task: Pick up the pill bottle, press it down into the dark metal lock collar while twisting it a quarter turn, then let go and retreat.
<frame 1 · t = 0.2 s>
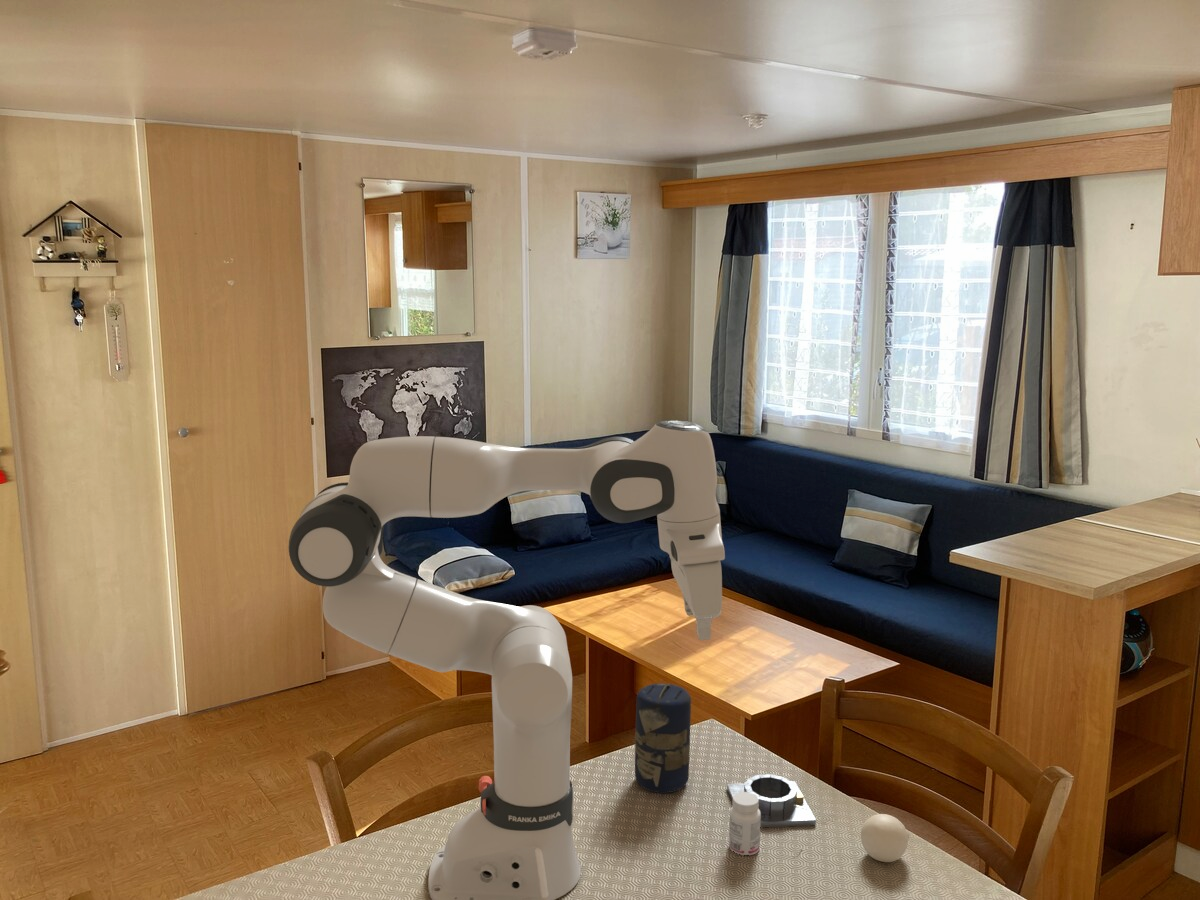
hand: (697, 625, 139), 38 cm above the table, tool pointing down, fingers open, 8 cm apart
lock socket: (769, 806, 162), on the table
pill bottle: (743, 848, 151), on the table
canister: (661, 783, 169), on the table
beige sphere: (883, 858, 149), on the table
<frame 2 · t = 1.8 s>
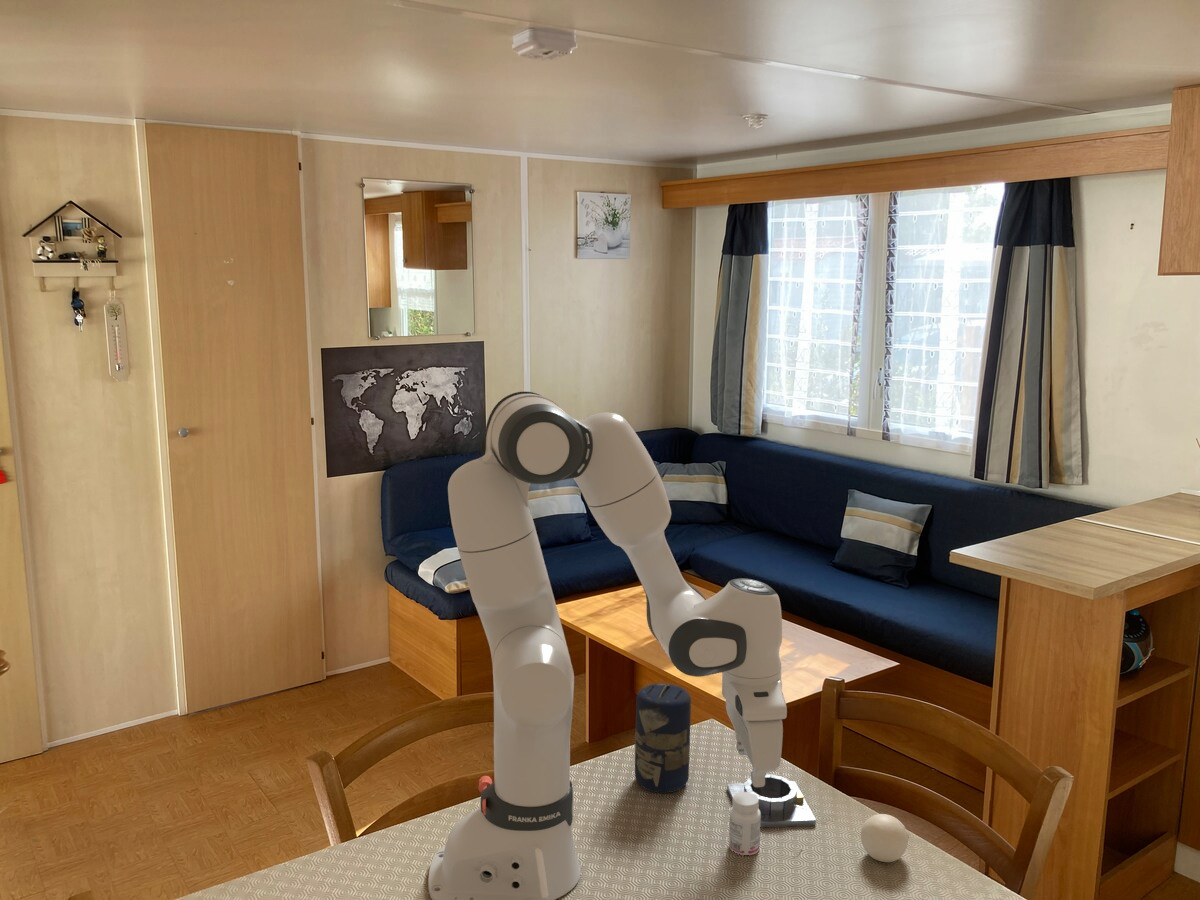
hand: (750, 768, 148), 13 cm above the table, tool pointing down, fingers open, 8 cm apart
nothing on the table moved.
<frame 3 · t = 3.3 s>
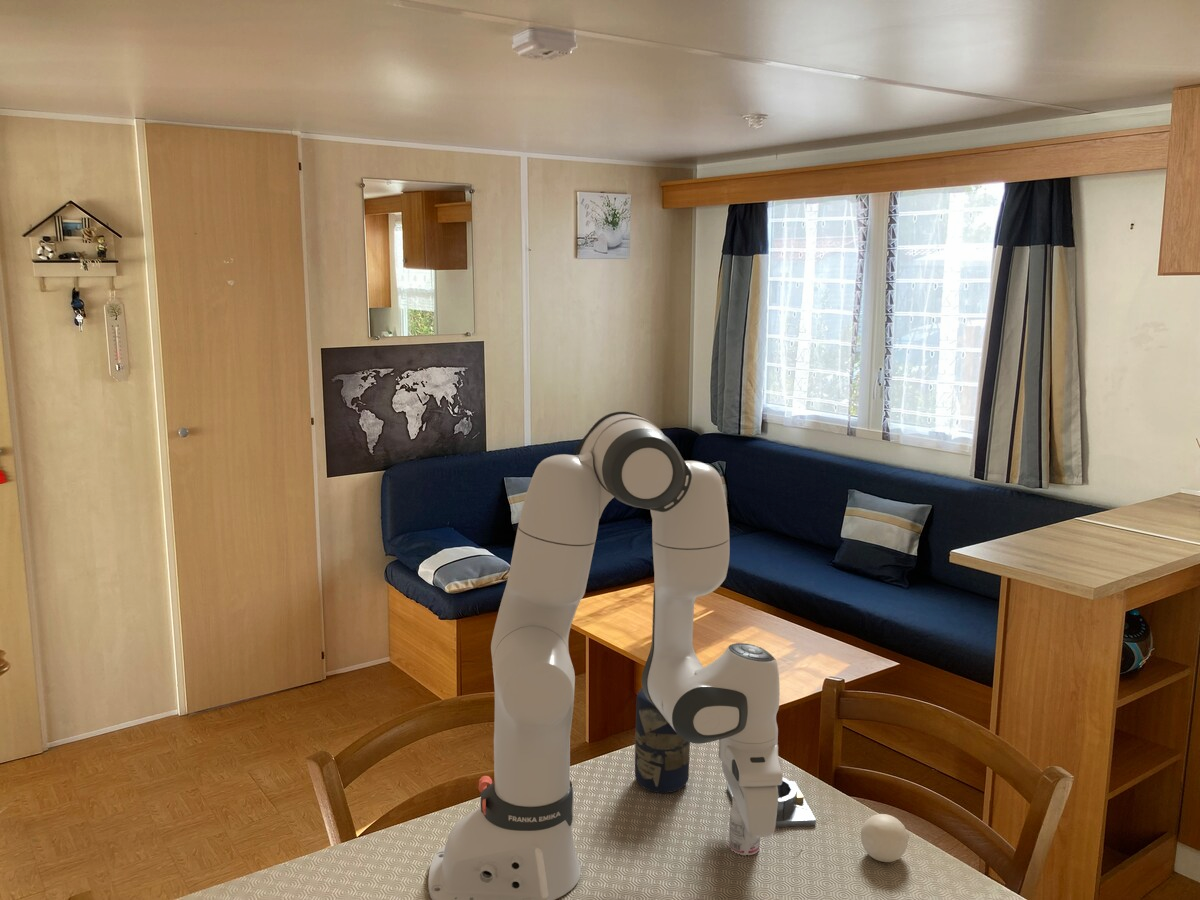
hand: (744, 829, 150), 3 cm above the table, tool pointing down, fingers closed on pill bottle, 5 cm apart
pill bottle: (743, 848, 151), on the table, touching gripper
everything else where it was.
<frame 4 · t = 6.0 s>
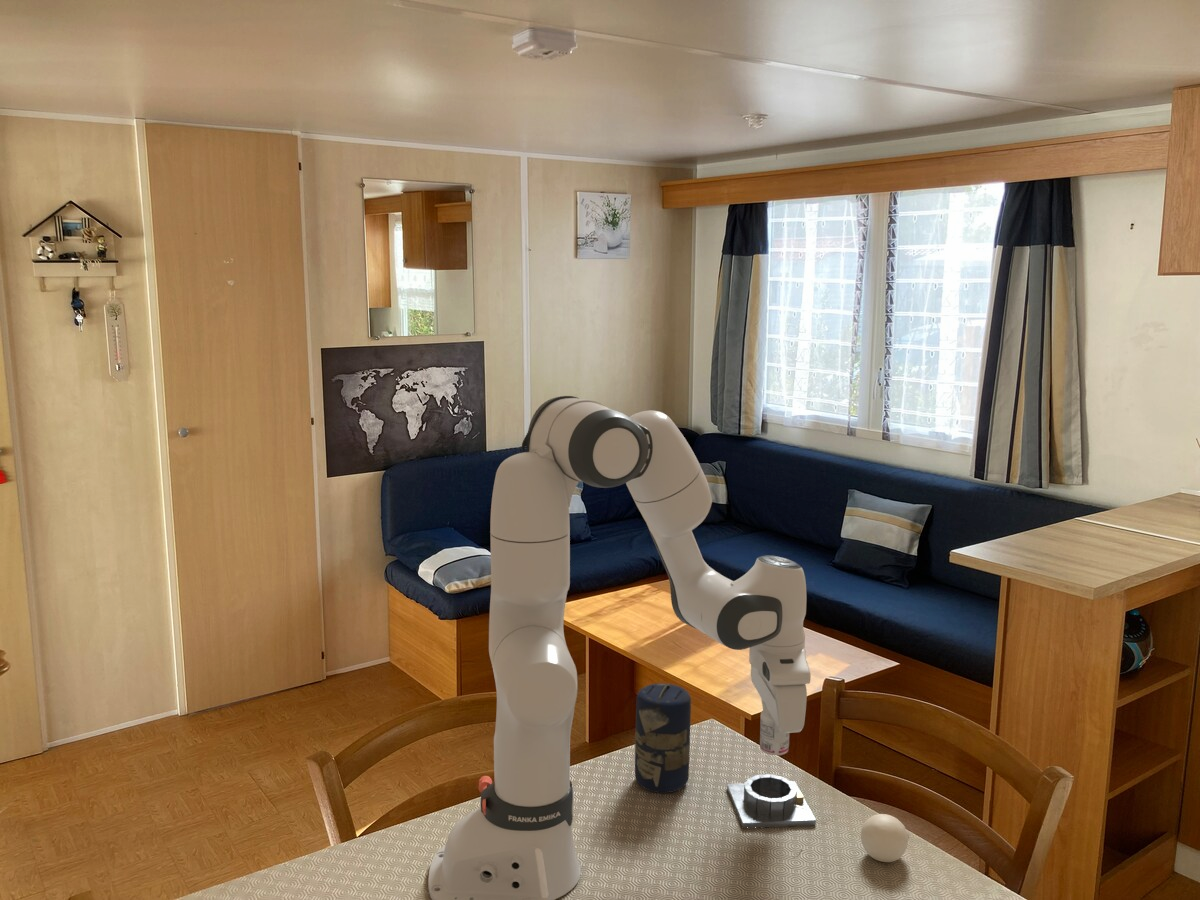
hand: (774, 731, 160), 14 cm above the table, tool pointing down, fingers closed on pill bottle, 5 cm apart
pill bottle: (774, 750, 160), point 10 cm above the table, touching gripper
everything else where it was.
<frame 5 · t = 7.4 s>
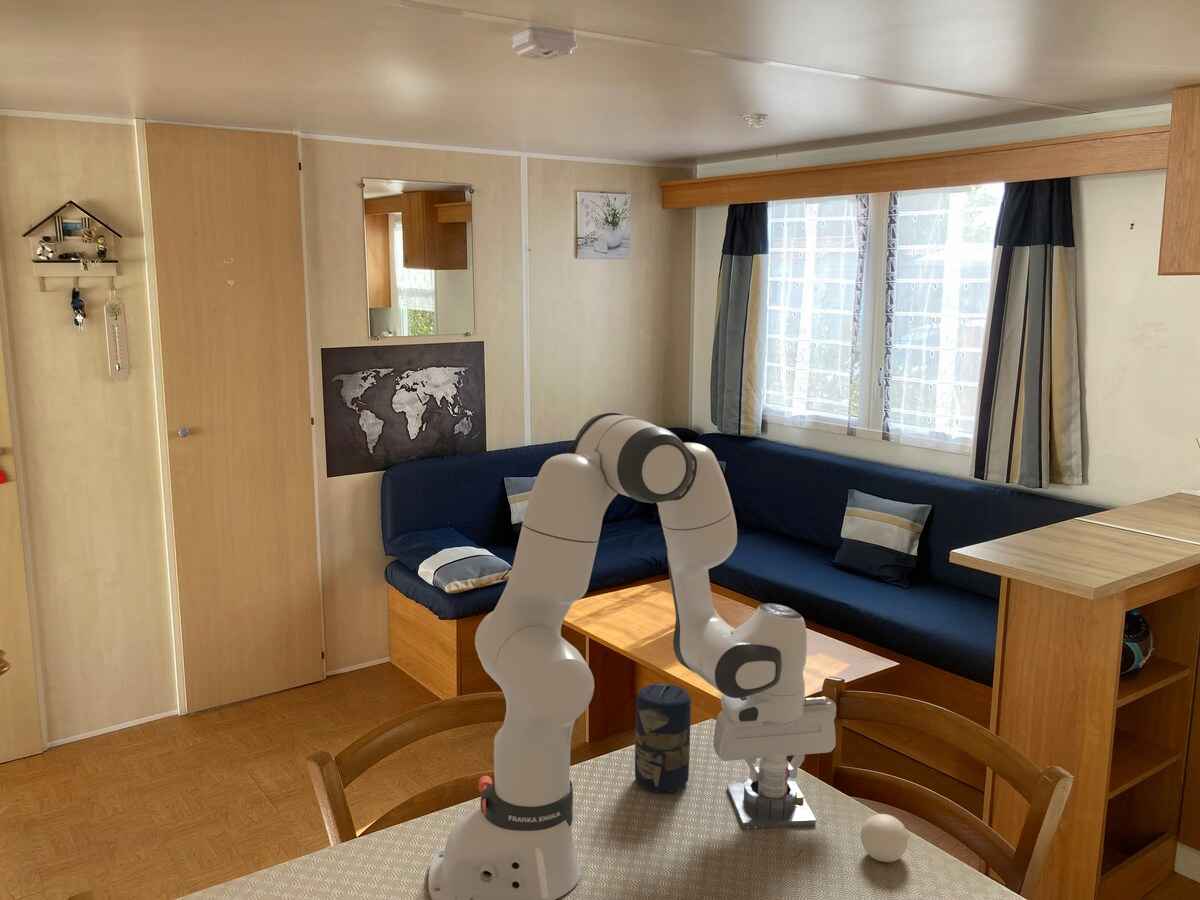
hand: (773, 778, 160), 6 cm above the table, tool pointing down, fingers closed on pill bottle, 5 cm apart
pill bottle: (772, 796, 161), point 2 cm above the table, touching gripper
everything else where it was.
when the fingers open (6 cm above the table, at t = 8.7 s): pill bottle drops 1 cm, resting on lock socket.
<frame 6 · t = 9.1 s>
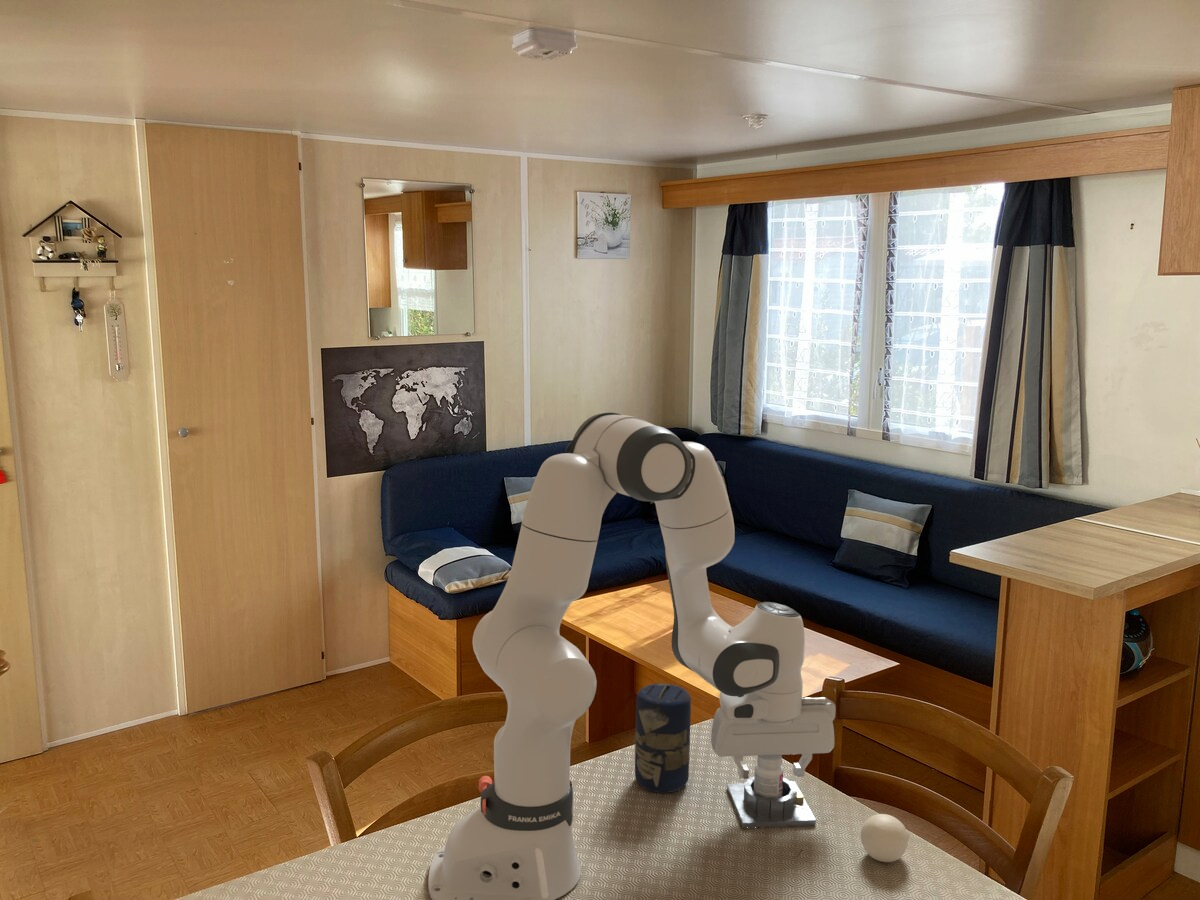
hand: (771, 776, 161), 6 cm above the table, tool pointing down, fingers open, 8 cm apart
pill bottle: (767, 802, 162), point 1 cm above the table, touching lock socket
everything else where it was.
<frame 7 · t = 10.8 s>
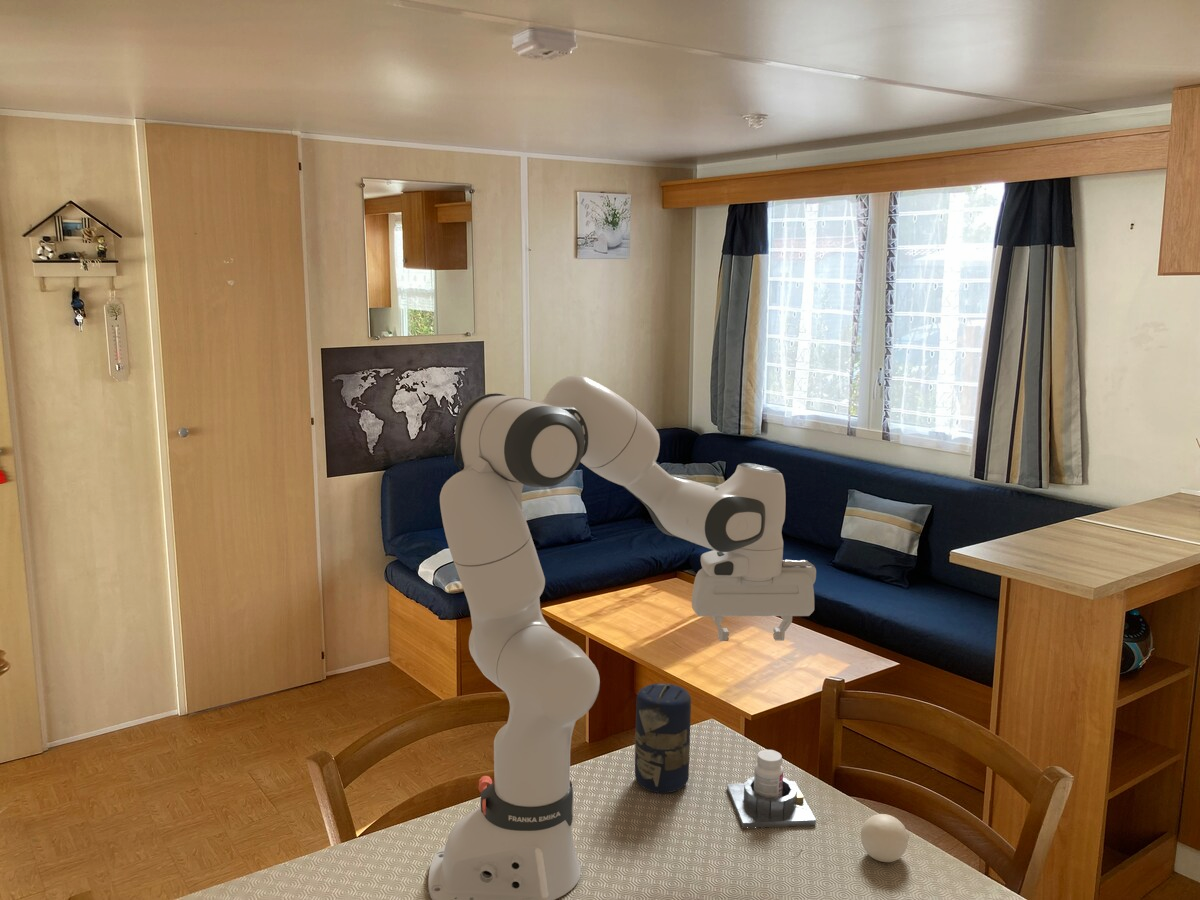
hand: (750, 639, 162), 28 cm above the table, tool pointing down, fingers open, 8 cm apart
nothing on the table moved.
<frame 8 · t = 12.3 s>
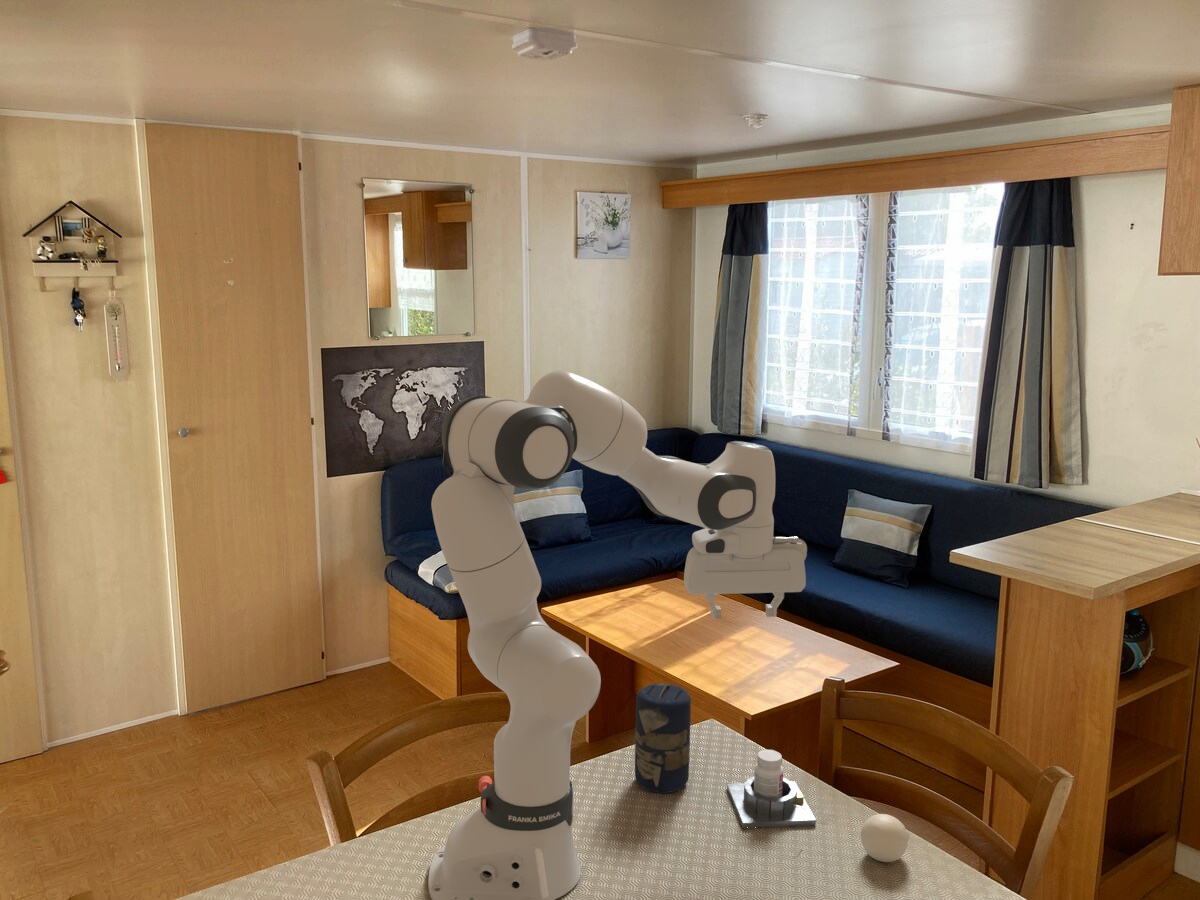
hand: (743, 616, 163), 31 cm above the table, tool pointing down, fingers open, 8 cm apart
nothing on the table moved.
at the end: pill bottle 0.5 cm from the lock socket (horizontally); pill bottle tilted 0°; the gripper is holding nothing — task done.
